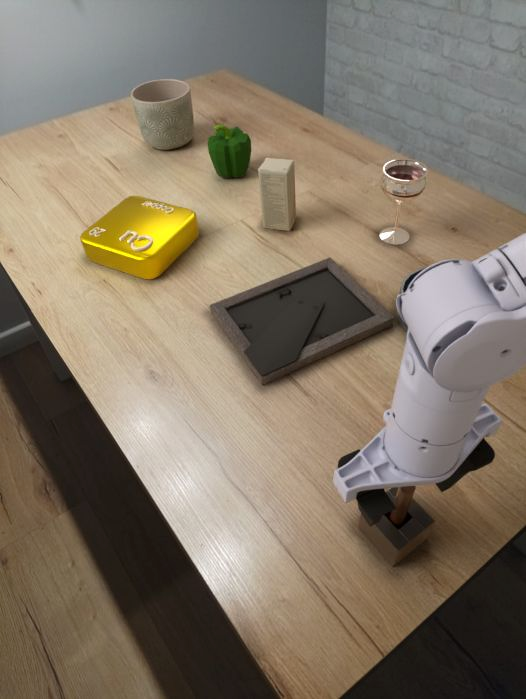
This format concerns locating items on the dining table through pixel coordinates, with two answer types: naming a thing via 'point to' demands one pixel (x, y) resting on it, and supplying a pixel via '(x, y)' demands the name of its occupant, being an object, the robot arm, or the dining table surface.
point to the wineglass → (401, 192)
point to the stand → (398, 531)
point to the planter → (164, 113)
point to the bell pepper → (229, 151)
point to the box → (277, 193)
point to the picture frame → (299, 319)
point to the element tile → (140, 236)
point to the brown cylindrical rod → (401, 505)
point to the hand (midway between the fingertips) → (403, 498)
